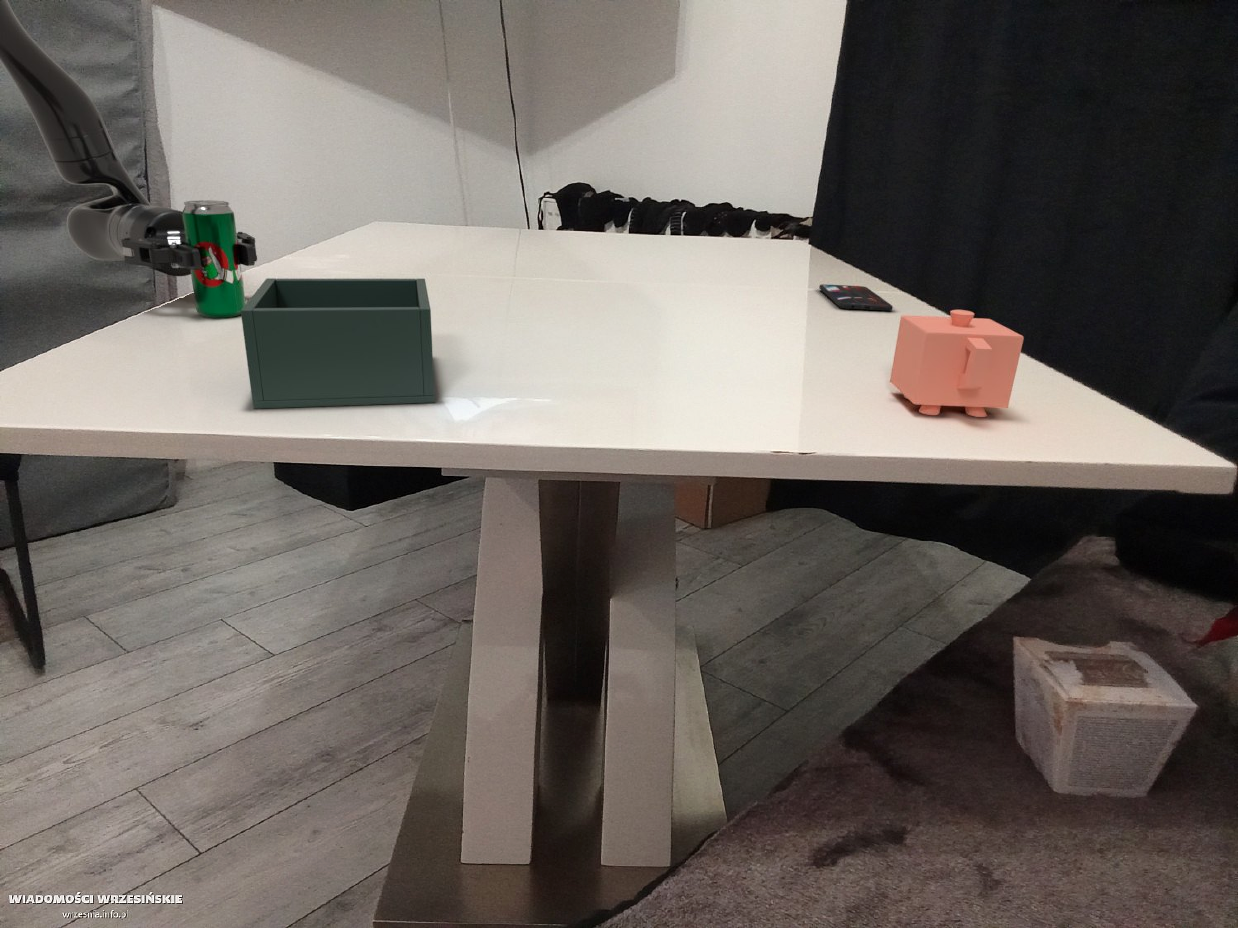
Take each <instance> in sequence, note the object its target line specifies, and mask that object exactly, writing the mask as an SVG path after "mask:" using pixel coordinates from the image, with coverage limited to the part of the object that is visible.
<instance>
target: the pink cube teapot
mask: <svg viewBox="0 0 1238 928" xmlns="http://www.w3.org/2000/svg"><path fill="white" fill-rule="evenodd" d="M949 315H950V316H934V315H933V316H932V315H931V316H930V315H911V314H910V315H907V314H906V315H905V314H901V316H900V320H899V325H898V326H899V327H898V331H897V338H896V343H895V349H894V355H893V360H892V366H891V372H890V377H889V378H890V379H889V382H890V383H891V384H892V385H893V387H895V388H896V389H897V390H898V391H899V392H900V393H901V394H902V395H903V398H904V399H905V400H906V399H907V400H909V401H910V402H911V403H912V404H913V405H921V406H920V408H919V409H918V412H919V413H921V414H923V415H927V416H938V415H940V412H941V408H942V406H945V407H946V406H947V407H964V408H965V414H966V415H968V416H972V417H975V418H986V417H988V414H987V412H986V410H985V408H995V409H996V408H997V409H999V408H1000V409H1008V408H1009V405H1010V400H1011V396H1012V391H1013V388H1014V387H1013V386H1014V383H1015V379H1016V375H1017V374H1016V373H1017V369H1018V365H1019V360H1020V357H1021V352H1022V348H1023V344H1024V340H1025V339H1024V338H1025V337H1024V336H1023V335H1022V334H1019V333H1018V332H1016V331H1014V330H1013V329H1010V328H1009V327H1006V326H1004V325H1002V324H1001V323H999V322H996V321H995V320H993V319H991V318H981V317H980V318H978V317H975V313H974V312H973V311H970V310H966V309H965V310H964V309H952V310H950V313H949Z"/></svg>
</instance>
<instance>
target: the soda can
mask: <svg viewBox="0 0 1238 928" xmlns="http://www.w3.org/2000/svg"><path fill="white" fill-rule="evenodd" d="M183 205H184V208H183V210H182V218H183V225H184V232H185V238H186V245H187V246H190V247H194V248H197V249H198V250H199V253H200V259H201V266H202V268H201V270H191V269H190V271H191V274H190V277H191V278H190V279H191V283H192V289H193V296H194V303H195V310H196V311H197V313H198V314H199V315H201V316H202V317H204V318H211V319H224V318H226V319H227V318H234V317H238V316H241V310H242V308H243V307H244V306H245V305H246V303H247V302H246V296H245V295H246V294H245V288H244V280H243V273H242V264H240V256H239V248H238V240H237V233H238V232H237V227H236V218H235V217H236V216H235V212H234V211H233V210H232V208H231V207H230V206H229V205H230V202H228V201H226V200H225V201H224V200H201V199H200V200H188V201H187V200H186V201H184V202H183Z"/></svg>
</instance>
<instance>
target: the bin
mask: <svg viewBox="0 0 1238 928" xmlns="http://www.w3.org/2000/svg"><path fill="white" fill-rule="evenodd" d="M431 309H432V308H431V305H430V299H429V294H428V288H427V282H426V279H425V278H273V277H272V278H269V277H268V278H265V279H264V281H263V282H262V283H261V284H260V286H259V287H258V288H257V290H255V292H254V293H253V294H252V296H250V299H249V300H248V301H247V302H246V305H245V306H244V307H243V308H242V310H241V315H240V317H241V323H242V331H243V340H244V346H245V347H244V348H245V354H246V355H245V356H246V362H247V370H248V377H249V386H250V393H251V401H252V408H253V409H255V410H256V409H285V408H286V409H287V408H312V407H313V408H314V407H317V408H318V407H340V406H343V407H344V406H346V407H347V406H370V405H371V406H373V405H400V404H401V405H403V404H404V405H405V404H429V403H430V404H431V403H435V401H436V400H435V381H434V380H435V379H434V378H435V377H434V357H433V355H434V354H433V334H432V333H433V331H432V311H431Z"/></svg>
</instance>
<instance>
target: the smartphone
mask: <svg viewBox="0 0 1238 928" xmlns="http://www.w3.org/2000/svg"><path fill="white" fill-rule="evenodd" d="M818 287H819V290H820V291H822V293H823V294H824V295H826V296H827V297H828V298H829V299H830V300H831V301H833V303H834V304H836V305H837V306H838V307H839V308H841V309H846V310H847V309H849V310H867V311H869V310H870V311H892V310H893V309H894V307H893V305H892V304H891V303H889V302H888V301H886V300H885V299H884V298H882V297H881V296H879V295H878V294H877V293H875V292H874V291H872V290H871V289H870V288H869V287H867V286H864V285H863V286H862V285H845V284H826V283H825V284H824V283H823V284H819V286H818Z"/></svg>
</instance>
